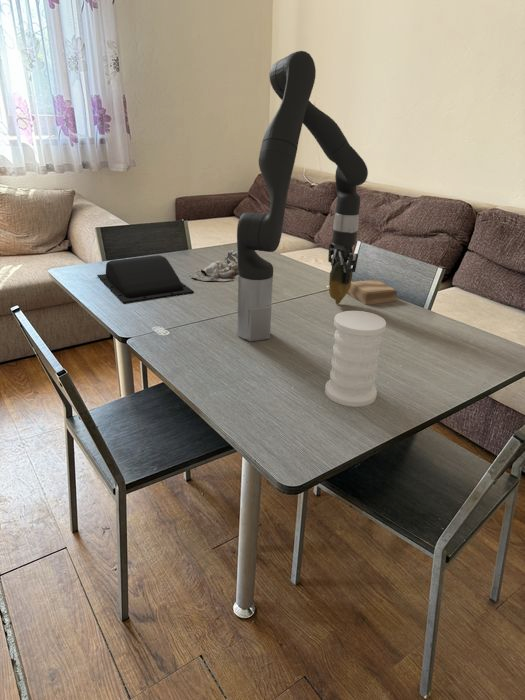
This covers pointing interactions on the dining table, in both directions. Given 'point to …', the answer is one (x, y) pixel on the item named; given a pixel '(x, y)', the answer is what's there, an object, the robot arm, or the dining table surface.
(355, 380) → the decorative container
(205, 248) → the dining table surface
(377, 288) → the plinth
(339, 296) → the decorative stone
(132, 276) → the black rounded block
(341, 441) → the dining table surface
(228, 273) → the wall ornament
